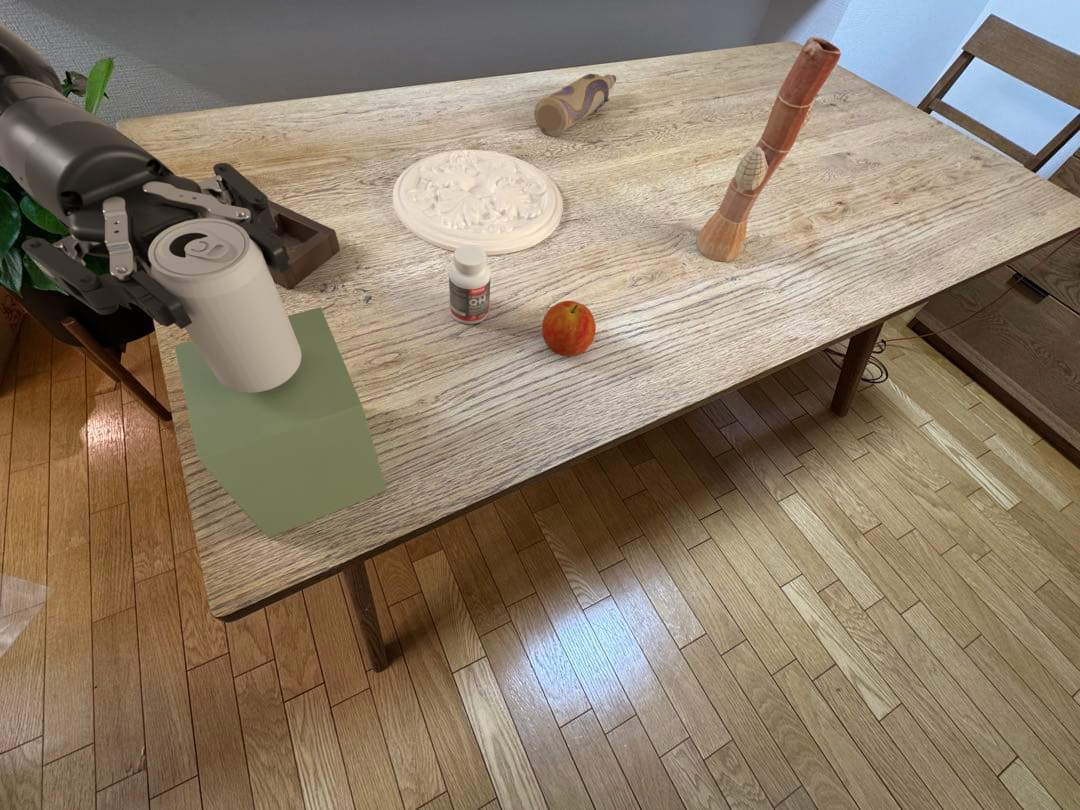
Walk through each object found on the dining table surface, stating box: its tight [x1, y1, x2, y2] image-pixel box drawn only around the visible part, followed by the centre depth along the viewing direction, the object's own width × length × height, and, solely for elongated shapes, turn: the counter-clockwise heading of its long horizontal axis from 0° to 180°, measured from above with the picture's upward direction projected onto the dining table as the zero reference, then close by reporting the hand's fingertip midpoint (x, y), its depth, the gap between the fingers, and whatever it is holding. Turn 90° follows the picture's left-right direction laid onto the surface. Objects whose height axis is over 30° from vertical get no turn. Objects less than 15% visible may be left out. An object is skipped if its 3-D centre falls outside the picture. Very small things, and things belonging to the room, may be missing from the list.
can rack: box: [218, 199, 341, 291], centre depth 73 cm, size 10×19×4 cm, turn 63°
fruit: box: [541, 300, 597, 357], centre depth 66 cm, size 7×7×8 cm
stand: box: [173, 306, 388, 539], centre depth 49 cm, size 12×12×16 cm
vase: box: [695, 36, 842, 263], centre depth 74 cm, size 11×7×30 cm
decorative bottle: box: [533, 73, 617, 137], centre depth 104 cm, size 26×8×7 cm, turn 145°
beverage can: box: [148, 218, 301, 393], centre depth 37 cm, size 6×6×12 cm
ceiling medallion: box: [392, 149, 564, 256], centre depth 85 cm, size 28×28×3 cm
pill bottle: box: [448, 245, 492, 325], centre depth 67 cm, size 5×5×10 cm
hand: (234, 287), depth 33 cm, fingers closed on beverage can, 6 cm apart
